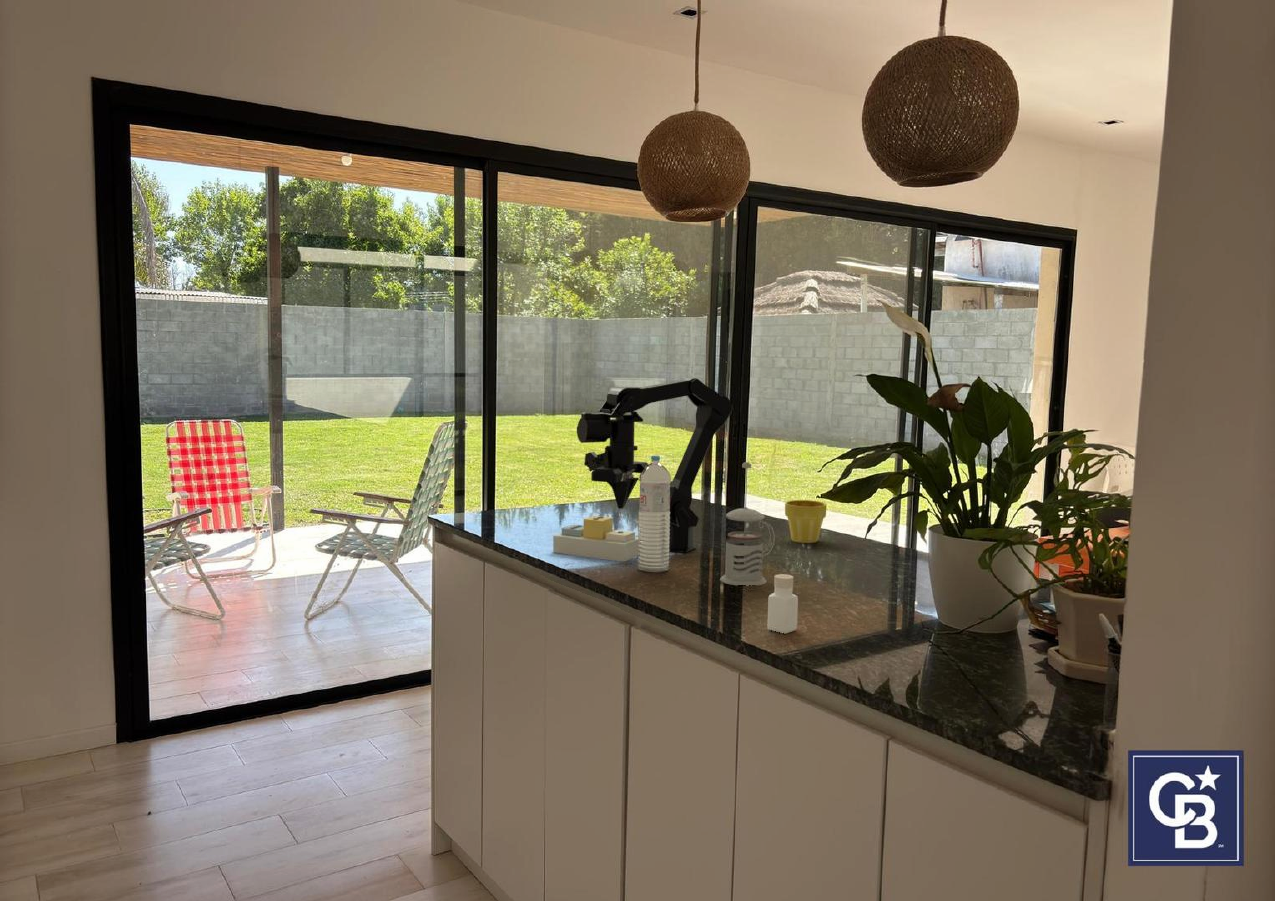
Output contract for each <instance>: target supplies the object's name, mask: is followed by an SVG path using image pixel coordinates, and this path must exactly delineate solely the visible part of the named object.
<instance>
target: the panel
mask: <svg viewBox="0 0 1275 901" xmlns="http://www.w3.org/2000/svg"><path fill="white" fill-rule="evenodd" d="M561 534H562V532H561V533H557V534H555V535H552V538H553V539H552V540H553V543H552V546H553V548H552V551H553V553H555V552H556V554H564V555H572V556H578V557H586V558H593V559H600V560H601V559H602V560H608V561H609V560H610V561H615V560H616V562H617V561H618V562H623V563H625V562H627V561H630V560H632V559H635V558H638V540H639V539H638V536H635V539H634V540H632V541H629V542H626V543H624V542H616V541H608V540H606V539H604V540H599V539H591V538H583V536H582V537H575V536H567V535H561Z"/></svg>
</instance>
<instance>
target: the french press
mask: <svg viewBox="0 0 1275 901" xmlns="http://www.w3.org/2000/svg"><path fill="white" fill-rule="evenodd" d="M741 467H742V468H743V469H746V470H745V492H747V491H748V490H747V486H748V484H747V482H748V469H751V468H752V464H751V463H750V462H747V461H745V462H743V463H742V465H741ZM744 501H745V502H744V507H743V508H736V509H734V510H731V511H729V512H727V513H726V514H725V517H726V518H727V519H728V520H732V521H738V522H744V526H747V525H746V524H747V522H758V527H759V529H763V528H764V525H765V526H766V527H767V528H768V533H769V541H768V544H767V547H766V548H765V549H764V542H763V541H761V542H760V539H761V538H762V534H761V533H759V532H754V531H748V530H747V531H746V528H744V530H739V531H731V532H729V533H727V537H728V538H730V539H726V540H725V564H724V565H725V566H724V567H725V569H724V574H723V575H722V576H721V577H720V579H719V581H721V580H722V581H721V582H722V583H724V584H727V585H733V586H738V585H746V586H745V587H753V586H752V585H756V586H761V585H765V584H766V583H767V579H766V578H765V577H764V576H763V562H764V561H763V559H764V557H765V556H767V555H769V554H770V553H771V552H772V550H773V547H774V544H775V540H776V535H775V531H774V528H773V527H772V526H771V524H770V523H768V522H767V521H763V520H764V519H765V517H766V516H765V515H764V514H762V513H761V512H759V511H757V510H755V509H752V508H748V507H747V493H745V499H744ZM761 523H762V526H761ZM771 531H772V533H771ZM772 535H773V537H772ZM771 539H773V540H771ZM771 541H772V545H771V548H770V547H769V546H770V544H771ZM739 544H744V545H739ZM769 548H770V550H769V551H768V549H769ZM766 551H768V552H766ZM764 553H765V554H764ZM741 556H743V557H744V558H743V557H741ZM736 557H737V558H736ZM759 569H760V570H759ZM749 585H751V586H749Z"/></svg>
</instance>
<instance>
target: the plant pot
mask: <svg viewBox="0 0 1275 901" xmlns="http://www.w3.org/2000/svg"><path fill="white" fill-rule="evenodd" d="M784 515H785V517H787V520H788V521H787V522H788V527H789V532H790V538H791V541H792V542H795V543H798V544H799V543H801V544H812V543H813V544H814V543H817V542H818V540H819V537H820V533H821V528H822V525H823V521H824V519H825V518H826V517H827V504H826V502H822V501H820V500H811V499H796V500H795V499H794V500H793V499H792V500H788V501H785V503H784Z"/></svg>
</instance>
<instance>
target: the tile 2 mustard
mask: <svg viewBox="0 0 1275 901" xmlns="http://www.w3.org/2000/svg"><path fill="white" fill-rule="evenodd" d="M613 519H614V517H608V516H597V515H593V516H589V517H586V518H583V526H584V529H583V538H591V539H599V540H604V539H606V533H608V532H611V531H614V530H613V529H614V528H613V524H614V521H613Z"/></svg>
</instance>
